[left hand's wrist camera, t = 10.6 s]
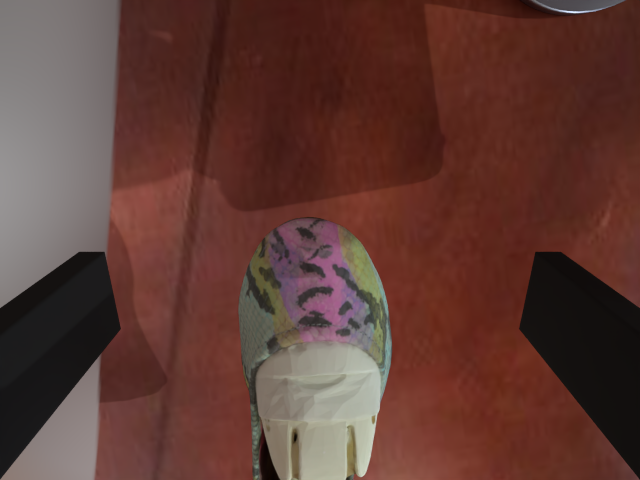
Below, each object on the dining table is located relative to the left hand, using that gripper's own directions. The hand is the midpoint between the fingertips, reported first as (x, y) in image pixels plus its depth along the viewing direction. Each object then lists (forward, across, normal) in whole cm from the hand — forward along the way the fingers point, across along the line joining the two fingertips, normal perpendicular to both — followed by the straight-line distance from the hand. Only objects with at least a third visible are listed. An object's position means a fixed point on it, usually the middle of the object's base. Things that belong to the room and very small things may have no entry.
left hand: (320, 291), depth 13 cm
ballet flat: (+10, 0, -12) cm, 15 cm away
